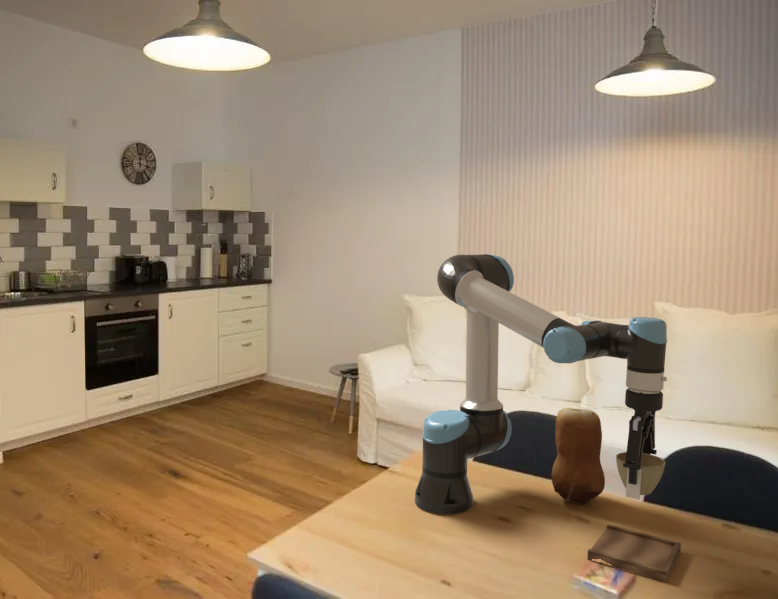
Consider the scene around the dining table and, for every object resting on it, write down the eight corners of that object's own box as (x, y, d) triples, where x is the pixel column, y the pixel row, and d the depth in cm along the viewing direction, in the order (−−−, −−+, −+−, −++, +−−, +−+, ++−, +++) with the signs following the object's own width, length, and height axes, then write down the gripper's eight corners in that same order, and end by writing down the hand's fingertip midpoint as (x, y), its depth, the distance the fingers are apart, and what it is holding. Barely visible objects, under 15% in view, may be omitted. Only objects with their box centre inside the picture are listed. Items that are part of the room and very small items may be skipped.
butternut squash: (575, 487, 181) (579, 400, 179) (614, 505, 170) (619, 412, 167) (539, 497, 174) (542, 406, 171) (577, 516, 162) (581, 418, 160)
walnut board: (587, 559, 140) (587, 550, 140) (607, 532, 153) (608, 524, 153) (666, 582, 131) (666, 572, 131) (680, 551, 145) (680, 542, 144)
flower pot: (668, 502, 135) (670, 468, 134) (617, 497, 137) (619, 464, 136) (658, 484, 145) (659, 453, 144) (611, 480, 147) (613, 449, 146)
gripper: (651, 402, 127) (644, 511, 130) (673, 382, 146) (667, 478, 148) (612, 397, 132) (606, 502, 134) (638, 378, 150) (633, 471, 152)
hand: (638, 489), depth 141 cm, fingers closed on flower pot, 10 cm apart
